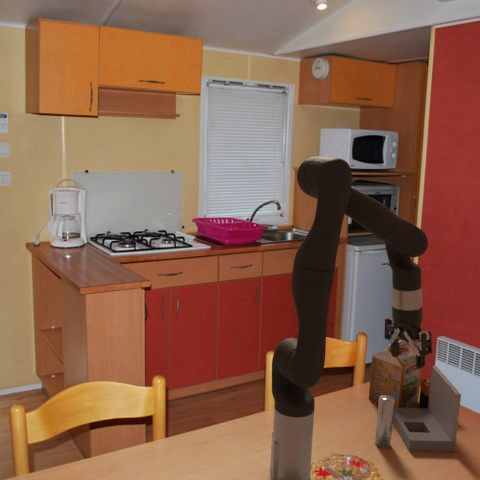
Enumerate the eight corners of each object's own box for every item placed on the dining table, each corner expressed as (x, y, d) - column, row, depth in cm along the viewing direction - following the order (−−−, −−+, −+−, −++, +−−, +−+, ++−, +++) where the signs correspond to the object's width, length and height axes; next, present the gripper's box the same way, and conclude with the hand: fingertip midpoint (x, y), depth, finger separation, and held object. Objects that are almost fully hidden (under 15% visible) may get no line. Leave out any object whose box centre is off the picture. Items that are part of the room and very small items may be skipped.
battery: (446, 413, 175) (449, 381, 174) (424, 414, 174) (428, 382, 172) (438, 406, 180) (442, 375, 178) (418, 407, 178) (421, 376, 177)
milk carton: (397, 411, 175) (403, 350, 172) (368, 398, 183) (373, 340, 179) (417, 402, 182) (423, 343, 178) (388, 389, 190) (393, 333, 186)
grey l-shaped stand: (408, 450, 154) (414, 393, 151) (389, 417, 172) (394, 365, 169) (454, 451, 154) (461, 394, 151) (431, 418, 172) (436, 366, 169)
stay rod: (377, 448, 155) (381, 401, 152) (373, 440, 159) (377, 394, 156) (392, 448, 155) (396, 402, 152) (388, 440, 159) (392, 395, 156)
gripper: (376, 299, 155) (377, 356, 159) (417, 315, 143) (418, 376, 147) (397, 292, 159) (398, 348, 163) (439, 307, 147) (439, 367, 151)
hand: (407, 361), depth 155 cm, fingers open, 8 cm apart
